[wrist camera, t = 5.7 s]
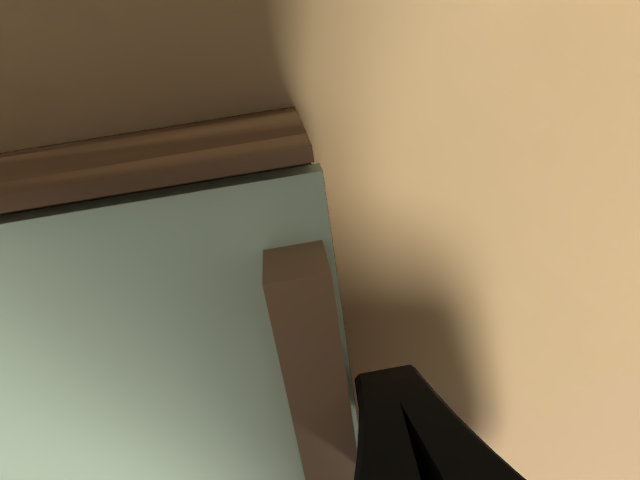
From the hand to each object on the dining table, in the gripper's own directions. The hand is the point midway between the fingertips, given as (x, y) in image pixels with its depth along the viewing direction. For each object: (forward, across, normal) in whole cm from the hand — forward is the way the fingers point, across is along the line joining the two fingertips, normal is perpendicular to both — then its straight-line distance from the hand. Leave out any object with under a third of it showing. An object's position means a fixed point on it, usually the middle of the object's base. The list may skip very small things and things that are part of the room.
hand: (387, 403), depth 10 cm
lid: (+1, +6, 0) cm, 6 cm away
